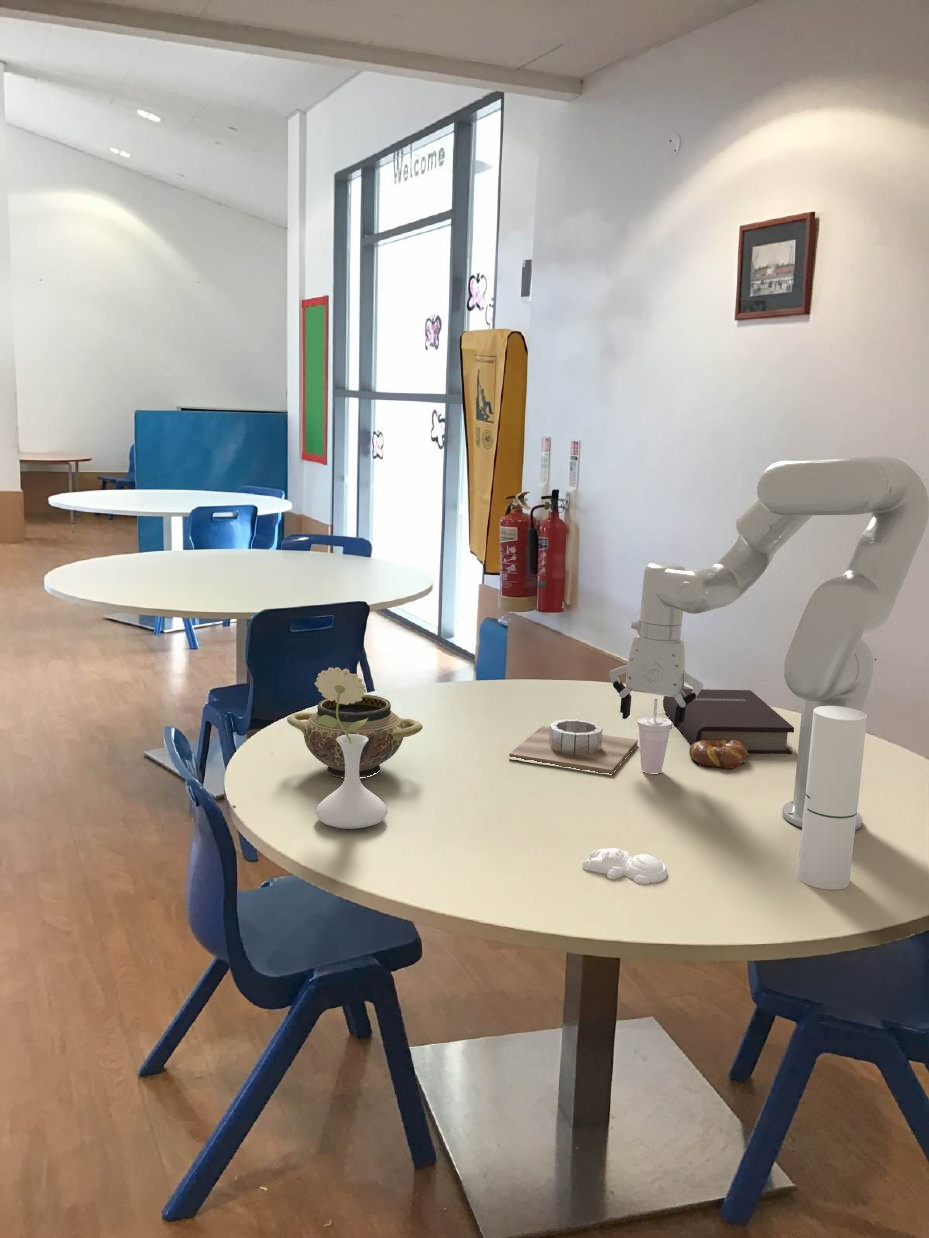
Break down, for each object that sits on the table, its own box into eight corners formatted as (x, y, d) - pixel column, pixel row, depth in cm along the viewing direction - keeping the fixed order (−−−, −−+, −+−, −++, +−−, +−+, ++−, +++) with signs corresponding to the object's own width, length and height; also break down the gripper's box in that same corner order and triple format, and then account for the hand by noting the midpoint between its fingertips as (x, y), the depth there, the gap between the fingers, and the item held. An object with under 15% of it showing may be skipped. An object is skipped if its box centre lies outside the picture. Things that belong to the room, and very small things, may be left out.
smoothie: (631, 774, 198) (636, 701, 195) (636, 763, 204) (641, 692, 201) (666, 778, 196) (672, 704, 193) (670, 768, 202) (675, 696, 199)
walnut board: (611, 776, 196) (612, 769, 196) (508, 759, 204) (509, 753, 204) (637, 745, 215) (637, 739, 214) (542, 731, 222) (542, 725, 222)
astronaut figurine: (596, 852, 164) (597, 833, 163) (673, 869, 158) (675, 850, 158) (576, 873, 156) (577, 854, 155) (656, 892, 151) (657, 872, 150)
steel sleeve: (592, 757, 203) (594, 737, 202) (542, 750, 206) (543, 730, 206) (606, 743, 212) (607, 723, 211) (558, 736, 215) (559, 716, 215)
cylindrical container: (838, 868, 159) (855, 706, 155) (857, 889, 152) (875, 720, 148) (790, 867, 159) (806, 705, 154) (807, 889, 152) (824, 719, 147)
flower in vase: (401, 818, 174) (404, 668, 169) (359, 841, 164) (361, 683, 159) (336, 801, 180) (337, 656, 175) (292, 822, 171) (292, 670, 166)
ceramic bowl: (427, 779, 200) (433, 698, 201) (407, 788, 182) (413, 700, 183) (300, 768, 204) (306, 689, 205) (269, 776, 186) (275, 690, 187)
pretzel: (719, 747, 215) (721, 729, 214) (761, 763, 206) (763, 745, 205) (675, 756, 209) (677, 738, 208) (717, 773, 200) (719, 754, 199)
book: (662, 714, 239) (663, 688, 238) (748, 715, 240) (750, 690, 239) (694, 755, 211) (696, 726, 210) (791, 756, 212) (794, 727, 211)
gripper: (608, 628, 194) (600, 719, 198) (704, 641, 188) (694, 734, 192) (618, 621, 201) (611, 708, 205) (711, 633, 195) (702, 723, 199)
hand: (651, 721), depth 198 cm, fingers open, 9 cm apart
